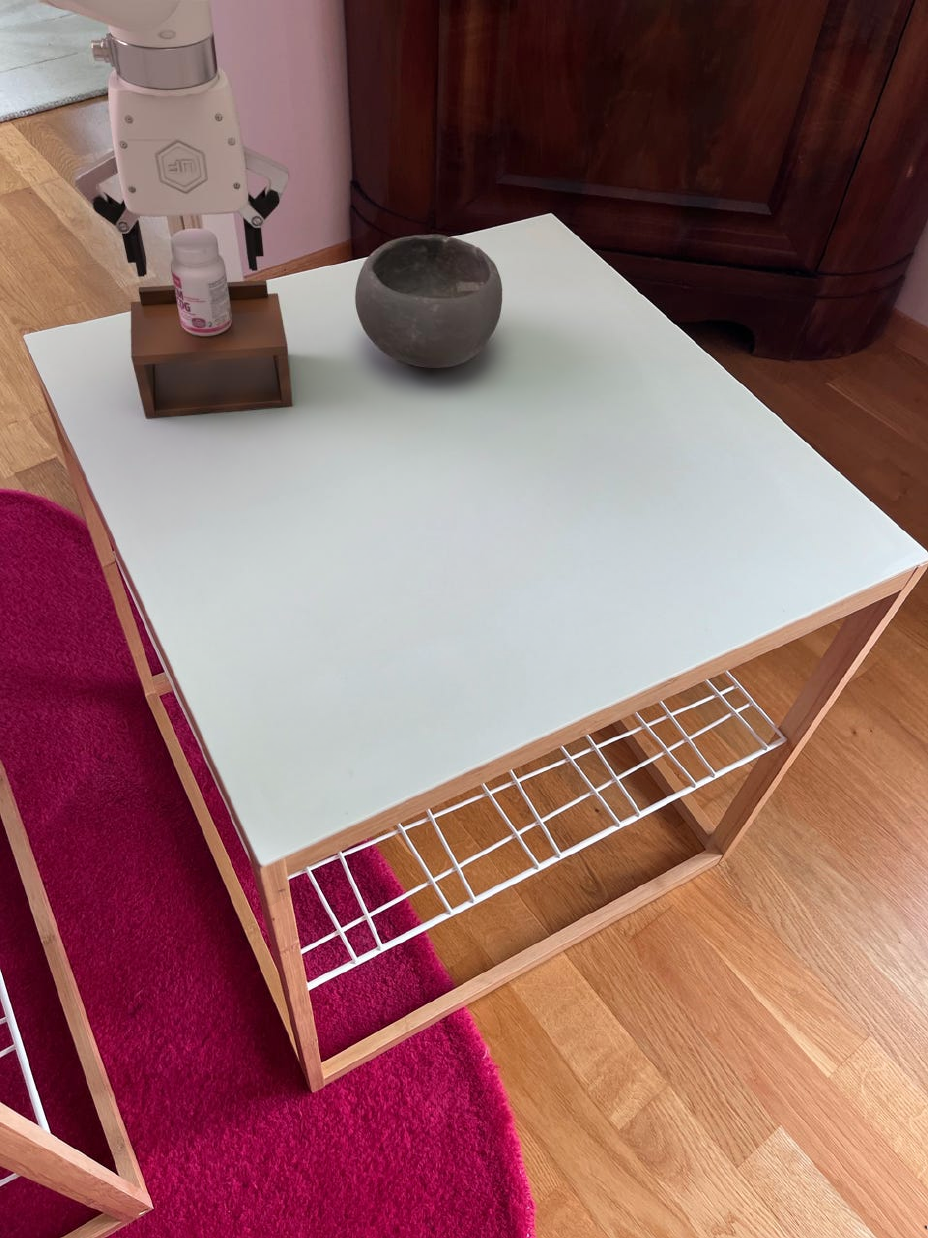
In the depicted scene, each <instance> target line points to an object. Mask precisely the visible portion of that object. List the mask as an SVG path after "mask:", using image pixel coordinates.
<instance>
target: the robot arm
mask: <svg viewBox="0 0 928 1238" xmlns="http://www.w3.org/2000/svg"><path fill="white" fill-rule="evenodd" d="M34 1H36V2H39V3H41V4H44V5H47V6H50V7H53V8H56V9H59V10H63V11H67V12H70V13H74V14H77V15H79V16H82V17H86V18H88V19H92V20H94V21H96V22H99V23H102V24H105V25H107V27H108V32H109V33H106V37H101V38H100V39H96V40H95V39H94V40H93V39H92V40H90V42H91V43H90V44H91V50H92V55H93V59H94V61H95V62H99V61H104V63H107V64H108V63H109V64H110V65H111V68H114V70H113V71H111V73H110V77H109V78H108V88H107V89H108V93H107V94H108V95H107V96H108V111H109V113H108V114H109V122H110V130H111V131H110V132H111V137H112V144H113V150H111V151H109V152H108V153H106V154H105V155H103V156H101V157H99V158H98V159H96V160H94V161H93V162H91V163H90V164H88V165H86V166H84V167H83V168H81V169H78V170H77V171H76V172H75V175H74V185H75V187H76V188H77V189H78V191H79V192H80V193H81V194H82V196H84V198H85V199H86V201H87V202H89V204H90V205H92V208H93V210H94V212H95V213H97V214H98V215H99V216H101V217H103V218H104V220H106V221H107V222H109V223H110V224H112V225H113V226H114V227H115V229H116V230H117V232H118V233H119V234H121V237H122V241H123V246H124V251H125V256H126V261H127V263H128V264H135V268H136V272H137V277H139V278H141V277H143V278H144V277H146V275H148V272H147V270H148V269H147V256H146V249H145V245H144V240H143V235H142V230H141V225H140V220H139V219H140V217H148V218H149V217H150V218H153V217H154V218H155V217H157V218H158V217H187V216H189V217H190V216H191V217H192V216H210V215H211V216H213V215H228V214H235V213H238V214H239V215H240V216H241V217H242V220H243V221H242V222H243V230H244V238H245V239H244V240H245V247H246V248H245V249H246V257H247V261H248V269H249V270H251V271H252V272H255V271H258V261H257V257H264V256H265V255H264V254H265V253H264V244H263V235H262V232H263V231H262V227H263V226H264V224H265V220H266V219H267V218H268V217H269V216H270V215H271V214H272V213H273V211H274V210H275V209H276V208H277V207H278V206H279V205H280V202H281V197H282V195H284V193H285V190H286V188H287V185H288V183H289V182H290V181H289V180H290V171H289V168H288V166H287V165H285V164H284V163H282V162H279V161H277V160H275V159H273V158H271V157H268V156H266V155H264V154H263V153H260V152H258V151H256V150H253V149H252V148H249V147H247V146H245V145H244V143H243V138H242V131H241V124H240V120H239V114H238V110H237V105H236V101H235V97H234V93H233V90H232V86H231V84H230V80H229V78H228V76H227V73H226V72H225V71H224V70H223V69H222V68H221V67H219V66H218V60H217V51H216V43H215V36H214V35H215V34H214V26H213V25H214V24H213V17H212V10H211V1H210V0H34ZM247 170H248V171H250V172H253V173H254V174H257V175H259V176H261V177H263V178H265V179H268V181H267V184H266V186H265V187H264V188H263V189H262V190H261V191H260V192H259V194H257V196H256V197H255V196H254V195H253V193H251V191H249V182H248V172H247ZM116 175H117V176H118V181H119V186H120V190H121V191H120V192H121V195H122V198H121V200H120V202H118V201H117V200H116V199H114V198H113V197H112V196H110V195H109V194H108V193H107V192H105V191H104V190H103V189H102V187H101V186H100V184H102V183H104V182H105V181H107V180H109V179H110V178H112V177H114V176H116Z"/></svg>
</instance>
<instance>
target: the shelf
mask: <svg viewBox="0 0 928 1238" xmlns="http://www.w3.org/2000/svg"><path fill="white" fill-rule="evenodd" d="M227 284H228V291H229V299H230V306H231V314H232V323H231V325H230V327H229V328H228V329H227V330H225V331H224V332H222V333H220V334H217V335H213V336H197V335H194V334H191V333H189V332H187V331H186V330H185V329H184V328H183V327H182V325H181V322H180V316H179V310H178V304H177V299H176V293H175V288H174V284H173V285H155V286H153V285H152V286H139V287H138V295H139V300H138V301H130V358H131V361H132V365H133V366H132V367H133V370H134V374H135V379H136V382H137V387H138V391H139V396H140V401H141V404H142V408H143V413H144V417H145V418H146V419H153V418H155V419H156V418H165V417H166V418H167V417H177V416H178V417H180V416H189V415H202V414H203V415H204V414H213V413H214V414H216V413H226V412H227V413H229V412H237V411H238V412H240V411H252V410H264V409H265V410H266V409H276V408H287V407H288V408H289V407H293V395H292V385H291V384H292V381H291V373H290V360H289V347H288V342H287V335H286V330H285V325H284V319H283V314H282V309H281V304H280V298H279V294H278V293H277V292H276V293H268V283H267V280H266V279H261V280H259V279H258V280H243V281H227Z"/></svg>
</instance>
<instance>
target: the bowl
mask: <svg viewBox="0 0 928 1238" xmlns="http://www.w3.org/2000/svg"><path fill="white" fill-rule="evenodd" d="M361 266H362V267H361V268H360V271H359V274H358V277H357V281H356V284H355V295H354V304H355V310H356V314H357V317H358V319H359V322H360V324H361V327H362V329H363V331H364V332H365V334H366V336H367V337H368V338H369V340H371V341H372V342H373V344H374V345H375V346H376V347H377V348H378V349H379V350H380V351H381V352H382V353H384V354H385V355H387V356H388V357H389V358H392V359H394V360H396V361H398V362H400V363H403V364H406V365H410V366H415V367H421V368H425V369H426V368H427V369H430V368H431V369H432V368H435V369H438V368H450V367H456V366H457V365H461V364H464V363H465V362H467V361H468V360H470V359H472V358H474V357H475V356H476V355H478V354H479V353H480V352H481V351H482V350H483V349H484V348H485V346H487V344H488V343H489V341H490V339H491V337H492V335H493V334H494V332H495V329H496V328H497V326H498V323H499V321H500V318H501V314H502V307H503V305H502V304H503V285H502V280H501V279H502V278H501V275H500V273H499V270H498V267H497V265H496V264H495V262H494V260H493V259H492V258H491V257H490V256H489V255H488V254H487V253H486V252H485V251H483V250H482V248H480V247H479V246H475V245H474V244H472V243H469V242H467V241H464V240H462V239H459V238H456V237H453V236H447V235H444V234H420V235H419V234H417V235H409V236H403V237H399V238H395V239H392V240H390V241H387V242H385V243H384V244H382V245H380V246H379V247H378V248H376V249H375V250H374V251H373V252H372V253H370V254H369V256H368V257H367V258H366V259H365V261H364V262H363V265H361Z"/></svg>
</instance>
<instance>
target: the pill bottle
mask: <svg viewBox="0 0 928 1238" xmlns="http://www.w3.org/2000/svg"><path fill="white" fill-rule="evenodd" d="M170 247H171V254H172V259H171V261H170V272H171V277H172V282H173V285H174V288H175V293H176V299H177V304H178V310H179V316H180V322H181V325H182V327H183V328H184V329H185V330H186V331H187V332H189V333H191V334H194V335H197V336H213V335H217V334H220V333H222V332H224V331H225V330H227V329H228V328H229V327H230V325H231V323H232V314H231V306H230V299H229V291H228V284H227V282H228V277H227V276H228V275H227V268H226V264H225V260H224V258H223V257H222V255H220V250H219V242H218V238H217V236H216V235H215V233H213V232H212V231H210V230H207V229H204V228H196V227H195V228H193V227H192V228H186V229H185V228H184V229H182V230H179V231H177V232H175V233H174V234H173V235H172V236H171V238H170Z"/></svg>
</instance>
